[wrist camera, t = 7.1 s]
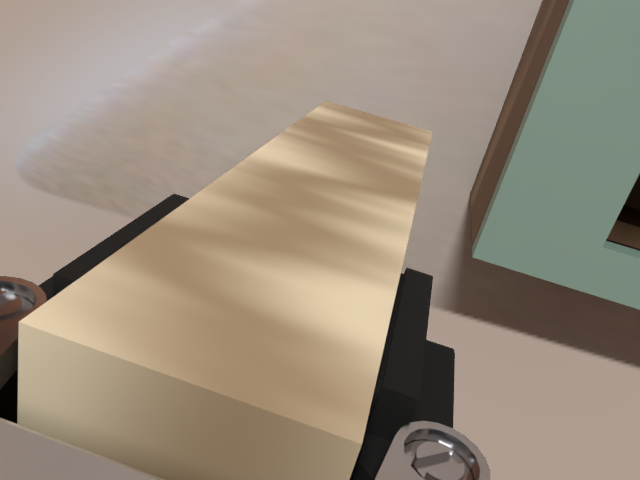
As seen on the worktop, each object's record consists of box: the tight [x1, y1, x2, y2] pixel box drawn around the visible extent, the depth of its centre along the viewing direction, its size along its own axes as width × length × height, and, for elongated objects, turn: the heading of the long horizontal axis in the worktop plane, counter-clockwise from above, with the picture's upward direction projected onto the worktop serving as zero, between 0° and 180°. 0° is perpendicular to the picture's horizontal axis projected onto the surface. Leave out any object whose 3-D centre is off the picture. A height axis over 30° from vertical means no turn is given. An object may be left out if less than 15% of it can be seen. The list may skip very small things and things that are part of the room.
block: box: [17, 101, 432, 480], centre depth 14 cm, size 4×4×16 cm
